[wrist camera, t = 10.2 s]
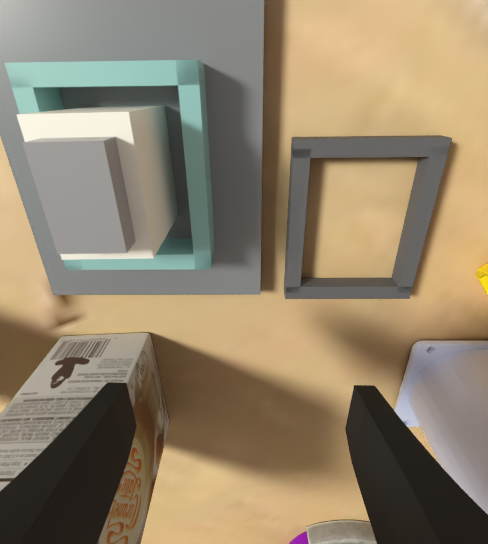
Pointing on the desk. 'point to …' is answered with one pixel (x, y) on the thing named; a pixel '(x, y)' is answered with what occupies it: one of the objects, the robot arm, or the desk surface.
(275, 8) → the desk surface
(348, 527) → the webcam
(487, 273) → the watch
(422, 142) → the tray
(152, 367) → the coffee box
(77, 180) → the plug
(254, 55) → the dock
